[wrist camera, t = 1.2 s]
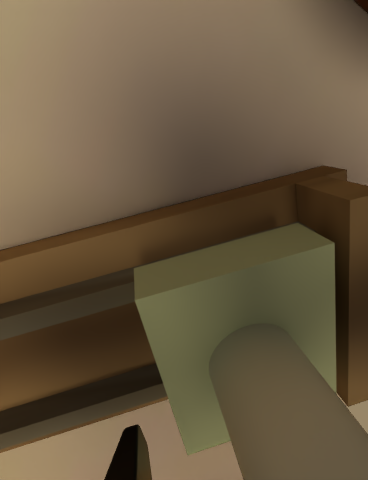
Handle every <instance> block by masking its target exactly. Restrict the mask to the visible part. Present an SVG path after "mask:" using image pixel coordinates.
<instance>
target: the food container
mask: <svg viewBox="0 0 368 480" xmlns="http://www.w3.org/2000/svg"><path fill="white" fill-rule="evenodd" d="M354 1H355V2H356V3H357V4H358V5H359V6H360V7H361V8H362V9H364V10H365V11H366V12H367V13H368V0H354Z"/></svg>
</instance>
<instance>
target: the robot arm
mask: <svg viewBox="0 0 368 480" xmlns="http://www.w3.org/2000/svg"><path fill="white" fill-rule="evenodd" d="M104 480H152V476H151V468H150V460H149V452H148V446H147V442H146V440H145V437H144V435H143V433H142V430H141V428H140V426H139V425H133V426H130V427H127V428H125V429H124V431H123V433H122V436H121V438H120V441H119V443H118V446H117V448H116V451H115V454H114V456H113V459H112V461H111V464H110V466H109V469H108V472H107V474H106V477H105V479H104Z"/></svg>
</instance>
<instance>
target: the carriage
mask: <svg viewBox="0 0 368 480" xmlns="http://www.w3.org/2000/svg"><path fill="white" fill-rule="evenodd" d="M134 290H135V302H136V305H137V308H138V311H139V314H140V317H141V320H142V323H143V326H144V329H145V332H146V335H147V338H148V340H149V343H150V346H151V349H152V352H153V355H154V358H155V361H156V364H157V367H158V370H159V373H160V376H161V379H162V381H163V384H164V387H165V390H166V393H167V396H168V399H169V402H170V405H171V408H172V411H173V414H174V417H175V420H176V422H177V425H178V428H179V431H180V434H181V437H182V440H183V443H184V446H185V449H186V452H187V455H190V454H193V453H196V452H199V451H202V450H205V449H208V448H211V447H214V446H217V445H220V444H223V443H226V442H229V441H231V442H232V445H233V448H234V451H235V455H236V458H237V461H238V464H239V467H240V470H241V473H242V476H243V479H244V480H368V434H367V433H366V431H365V430H364V429H363V428H362V426H361V425H360V424H359V422H358V421H357V420H356V419H355V417H354V416H353V415H352V414H351V412H350V411H349V410H348V408H347V407H346V406H345V405H344V403H343V402H342V401H341V400H340V398H339V397H338V396H337V394H336V316H335V243H334V242H332V241H330V240H328V239H327V238H325V237H323V236H321V235H319V234H317V233H315V232H314V231H312V230H310V229H308V228H306V227H304V226H303V225H301V224H299V223H295V224H291V225H288V226H284V227H281V228H277V229H273V230H270V231H266V232H263V233H259V234H256V235H252V236H248V237H245V238H241V239H238V240H234V241H230V242H227V243H223V244H220V245H216V246H212V247H209V248H205V249H202V250H198V251H194V252H191V253H187V254H184V255H180V256H176V257H173V258H169V259H166V260H162V261H158V262H155V263H151V264H148V265H144V266H141V267H137V268H134Z"/></svg>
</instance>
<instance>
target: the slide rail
mask: <svg viewBox="0 0 368 480" xmlns="http://www.w3.org/2000/svg"><path fill="white" fill-rule="evenodd" d="M295 223H299V224H301V225H303V226H304V227H306V228H308V229H310V230H312V231H314V232H315V233H317V234H319V235H321V236H323V237H325V238H327V239H328V240H330V241H332V242H334V243H335V316H336V392H337V393H338V395H339V396H340V397H341V398H342V400H343V401H344V402H345V403H346V405H347V406H348V407H349V406H351V405H354V404H357V403H360V402H363V401H366V400H368V186H366V185H361V184H357V183H352V182H348V181H347V170H345V169H339V168H333V167H328V166H320V167H317V168H313V169H309V170H305V171H301V172H298V173H294V174H290V175H286V176H282V177H279V178H275V179H271V180H267V181H263V182H259V183H256V184H252V185H248V186H244V187H240V188H237V189H233V190H229V191H225V192H221V193H218V194H214V195H210V196H206V197H202V198H199V199H195V200H191V201H187V202H183V203H179V204H176V205H172V206H168V207H164V208H160V209H157V210H153V211H149V212H145V213H141V214H138V215H134V216H130V217H126V218H122V219H119V220H115V221H111V222H107V223H103V224H99V225H96V226H92V227H88V228H84V229H80V230H77V231H73V232H69V233H65V234H61V235H58V236H54V237H50V238H46V239H42V240H39V241H35V242H31V243H27V244H23V245H19V246H16V247H12V248H8V249H4V250H0V453H1V452H5V451H8V450H11V449H14V448H17V447H20V446H23V445H26V444H30V443H33V442H36V441H39V440H42V439H45V438H48V437H51V436H55V435H58V434H61V433H64V432H67V431H70V430H73V429H76V428H79V427H83V426H86V425H89V424H92V423H95V422H98V421H101V420H104V419H108V418H111V417H114V416H117V415H120V414H123V413H126V412H129V411H133V410H136V409H139V408H142V407H145V406H148V405H151V404H154V403H157V402H161V401H164V400H167V399H168V396H167V393H166V390H165V387H164V384H163V381H162V379H161V376H160V373H159V370H158V367H157V364H156V361H155V358H154V355H153V352H152V349H151V346H150V343H149V340H148V338H147V335H146V332H145V329H144V326H143V323H142V320H141V317H140V314H139V311H138V308H137V305H136V302H135V290H134V268H137V267H141V266H144V265H148V264H151V263H155V262H158V261H162V260H166V259H169V258H173V257H176V256H180V255H184V254H187V253H191V252H194V251H198V250H202V249H205V248H209V247H212V246H216V245H220V244H223V243H227V242H230V241H234V240H238V239H241V238H245V237H248V236H252V235H256V234H259V233H263V232H266V231H270V230H273V229H277V228H281V227H284V226H288V225H291V224H295Z"/></svg>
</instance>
